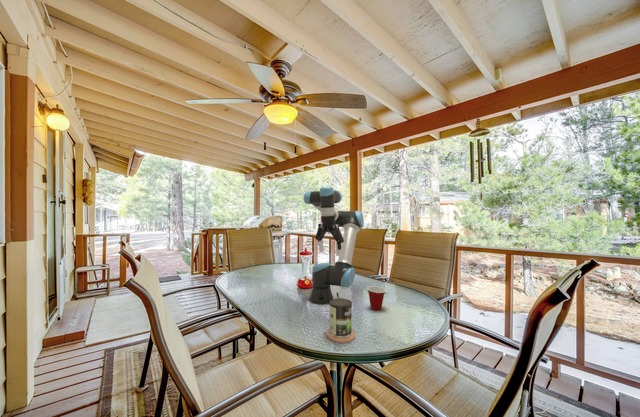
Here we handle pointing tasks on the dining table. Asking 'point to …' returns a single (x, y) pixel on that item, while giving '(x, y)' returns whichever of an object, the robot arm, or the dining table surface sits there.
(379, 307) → the plastic cup
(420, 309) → the dining table surface
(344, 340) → the dish
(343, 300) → the coffee can
